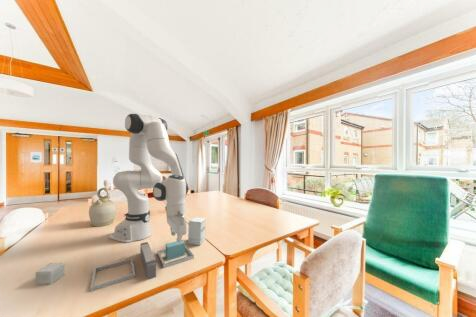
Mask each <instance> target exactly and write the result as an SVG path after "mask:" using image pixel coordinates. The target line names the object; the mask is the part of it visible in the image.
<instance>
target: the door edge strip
mask: <svg viewBox="0 0 476 317" xmlns="http://www.w3.org/2000/svg"><path fill="white" fill-rule="evenodd" d="M139 247H140V249H139V251H140V253H139V255H140V257H141V262H142V266H143V267H144V268H143V270H144V272H145V276H146V279H147V280H149V279H153V278H156V277H157V262H156V258H155V255H154V254H153V250H152V248H151V246H150V244H149V242H148V241H146V242H141V243H140V246H139Z"/></svg>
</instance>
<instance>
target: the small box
mask: <svg viewBox="0 0 476 317" xmlns="http://www.w3.org/2000/svg"><path fill="white" fill-rule="evenodd" d="M65 265H66V264H65V262H52V263H51V262H50V263H49V264H47V265H45V266H44V267H41V268H40V269H39V270H36V271H35V280H34V281H35V285H37V286H40V285H41V286H42V285H43V286H44V285H46V286H47V285H52V284H54V283H55V282H56V281H57V280H60V278H62V277H64V276H65V274H66V273H65V268H66V267H65Z"/></svg>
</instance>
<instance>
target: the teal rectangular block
mask: <svg viewBox="0 0 476 317" xmlns="http://www.w3.org/2000/svg"><path fill="white" fill-rule="evenodd" d="M185 245H186V242H185V241H184V240H183V239H181V242H180V243H177V240H176V241H173V242H172V241H171V242H167V243H166V244H165V248H164V249H165V252H164V253H165V259H166V260H167V261H168V262H169V261H171V260H174V259H177V258H181V257H184V256H185V255H186V254H185V253H186V250H185Z"/></svg>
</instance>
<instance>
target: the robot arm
mask: <svg viewBox="0 0 476 317" xmlns="http://www.w3.org/2000/svg"><path fill="white" fill-rule="evenodd" d="M124 127H125V129H126V130H127V131H128V132H129V133H130V135H129V136H130V137H129V143H128V148H129V149H128V160H129V161H130V162H131V163H132V164H135V165H137V166H138V167H140V170H123V171H118V172H116V173H115V174H114V176H113V178H112V184H113V186H114V187H115V189H117V190H118V191H121V193H123V195H124V196H125V198H126V200H127V210H128V211H127V213H125V214H123V217H125V218H124V220H122V221H121V222H120V223H118V224H117V225H115V228H114V232H113V233H112V234H110V235H109V236H108V237H109V239H110V240H114V241H117V242H121V243H125V244H127V243H131V242H136V241H142V240H144V239H147V238H149V237H151V236H152V229H151V224H150V222H151V221H150V220H151V219H150V218H151V210H150V198H149V196H147V195H146V194H143V193H140V192H139V190H142V189H143V190H144V189H152V196H153V197H154V198H155V200H156V201H158V202H163V201H164V202H165V201H166V205H165V206H164V210H165V212H166V222H167V225H168V226H169V228H170V235H171V236H173V237H174V236H176V241H177V243H180V242H181V240H182V238H183V236H184V235H187V219H186V218H187V217H186V216H185V214H186V212H187V201H186V196H187V194H188V193H189V188H190V187H189V184H188V182H187V180H186V178H185V175H184V172H183V168H182V166H181V162H180V159H179V157H178V154H177V153H176V152H175V151H174V150H173V148H172V146H171V143H170V139H169V138H170V137H169V135H168V123H167V121H166V120H165V119H162V118H160V117H156V116H152V115H146V114H137V113H129V114H128V115H127V116H126V117H125V119H124ZM151 157H153V158H154V159H156V160H158V161H161V162H163V163H165V164H167V165H168V167H169V168H170V172H171V174H172V175H169V176H167V178H166V179H164V178H163V177H164V176H163V174H162V173H161V172H160V171H159V170H158V169H157V168H156V167H155V166H154V165H153V162H152V159H151Z"/></svg>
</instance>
